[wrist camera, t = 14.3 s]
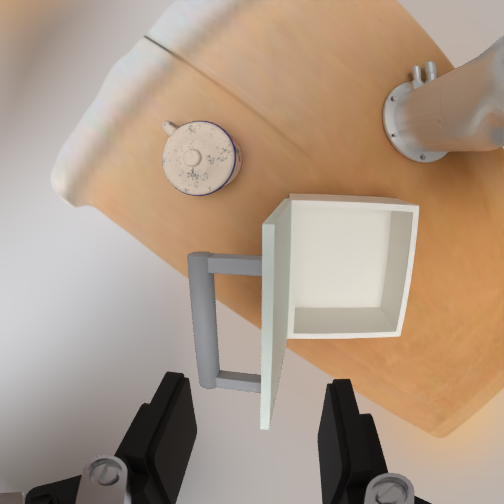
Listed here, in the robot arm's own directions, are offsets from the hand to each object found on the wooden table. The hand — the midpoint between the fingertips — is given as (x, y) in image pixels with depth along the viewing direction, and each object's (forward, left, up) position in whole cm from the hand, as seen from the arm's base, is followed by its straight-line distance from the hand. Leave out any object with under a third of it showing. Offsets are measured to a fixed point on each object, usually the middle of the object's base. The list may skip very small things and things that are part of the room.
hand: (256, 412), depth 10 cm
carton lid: (+5, +1, -20) cm, 21 cm away
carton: (+5, +10, -37) cm, 39 cm away
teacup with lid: (-10, -10, -38) cm, 40 cm away
